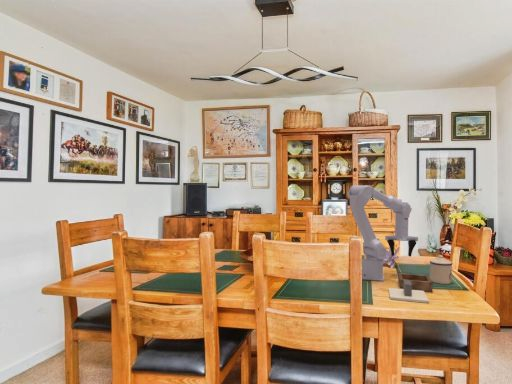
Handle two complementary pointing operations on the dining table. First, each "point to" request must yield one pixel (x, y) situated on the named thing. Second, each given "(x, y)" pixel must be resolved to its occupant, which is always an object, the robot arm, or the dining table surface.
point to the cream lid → (408, 294)
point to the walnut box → (416, 282)
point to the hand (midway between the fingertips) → (401, 255)
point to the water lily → (391, 258)
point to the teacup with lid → (440, 270)
